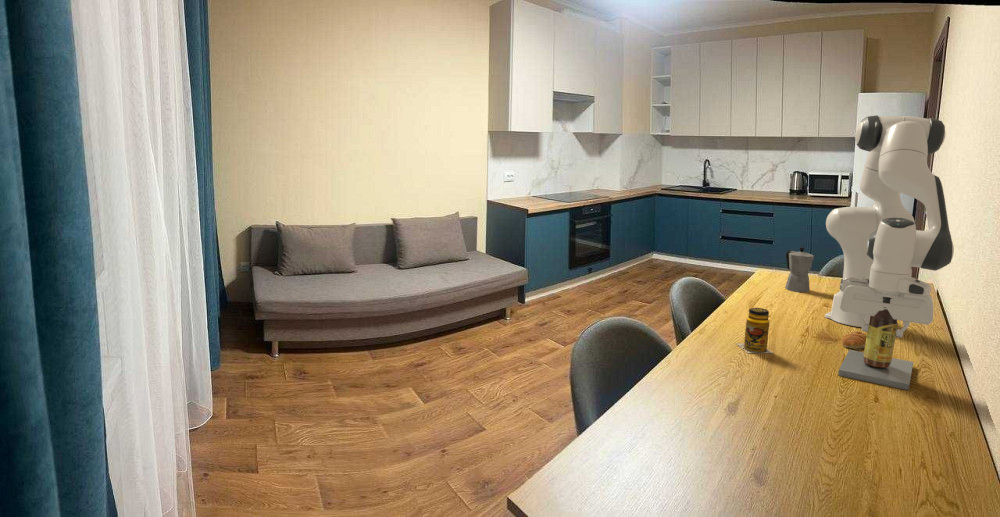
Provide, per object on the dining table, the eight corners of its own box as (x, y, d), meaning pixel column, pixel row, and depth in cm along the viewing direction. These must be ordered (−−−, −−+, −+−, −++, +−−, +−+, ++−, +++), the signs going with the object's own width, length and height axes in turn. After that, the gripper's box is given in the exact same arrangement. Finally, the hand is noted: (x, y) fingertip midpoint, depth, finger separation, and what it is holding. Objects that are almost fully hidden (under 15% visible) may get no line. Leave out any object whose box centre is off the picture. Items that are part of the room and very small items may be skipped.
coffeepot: (818, 293, 241) (823, 249, 238) (798, 294, 239) (803, 250, 236) (792, 284, 256) (797, 243, 253) (773, 285, 254) (777, 244, 251)
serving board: (848, 354, 168) (849, 349, 167) (912, 367, 159) (913, 361, 159) (838, 375, 152) (838, 369, 152) (908, 390, 143) (909, 384, 143)
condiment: (748, 353, 167) (752, 312, 165) (735, 343, 175) (739, 304, 173) (773, 353, 167) (778, 313, 165) (759, 344, 176) (763, 305, 173)
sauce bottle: (879, 370, 151) (890, 295, 147) (857, 362, 157) (866, 289, 153) (897, 367, 153) (908, 293, 150) (874, 359, 159) (884, 287, 155)
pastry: (862, 352, 170) (864, 340, 170) (836, 347, 175) (838, 335, 174) (870, 345, 177) (871, 333, 176) (845, 340, 182) (846, 328, 181)
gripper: (841, 278, 155) (834, 328, 157) (937, 290, 143) (928, 345, 145) (844, 274, 160) (838, 323, 162) (938, 285, 148) (929, 339, 150)
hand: (881, 334), depth 154 cm, fingers closed on sauce bottle, 6 cm apart
